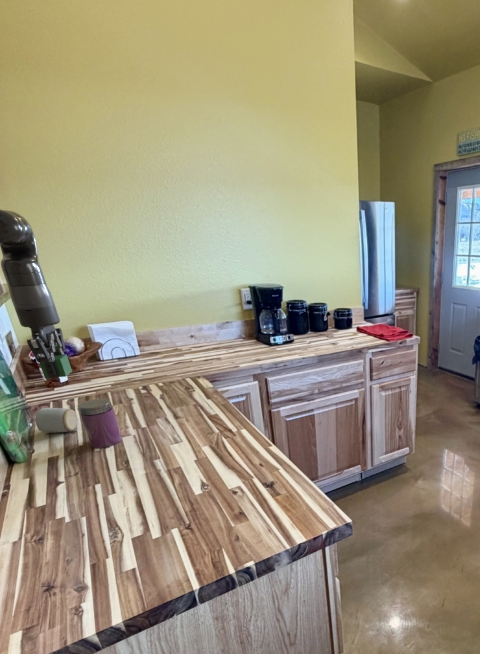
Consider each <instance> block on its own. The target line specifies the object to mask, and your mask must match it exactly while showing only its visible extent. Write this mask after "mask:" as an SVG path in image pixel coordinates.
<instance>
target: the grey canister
mask: <svg viewBox="0 0 480 654" xmlns="http://www.w3.org/2000/svg"><path fill="white" fill-rule="evenodd" d="M79 423H80V418H79V417H78V415H77V413H76V411H74V410H73V409H71V408H67V407H66V408H65V407H64V408H63V407H62V408H61V407H41V408H39V410H38V411H37V412H36V415H35V425H36V428H37V429H38V431H39V432H40V433H42V434H51V433H53V434H55V433H69V432H72V431H74V430H75V429H76V428H77V426H78V424H79Z"/></svg>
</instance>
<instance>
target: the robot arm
mask: <svg viewBox="0 0 480 654" xmlns="http://www.w3.org/2000/svg"><path fill="white" fill-rule="evenodd" d="M0 250H1V251H0V252H1V254H2V258H1V260H0V268H1V272H2V275H3V277H4V279H5V282H6V285H7V287H8V288H7V289H8V292H9V297H10V299H11V302H12V305H13V308H14V311H15V314H16V316H17V318H18V319H17V320H18V322H19V324H20V326H21V327H23V328H29V329H30V331H31V332H30V333H31V338H30V339H26V343H27V345H28V348H29V349H30V351H31V353H32V355H33V356H34V358H35V360H36V362H37V363H39V362H42V363H44V365H45V368H46V371H47V374H48V376H49V377H50V378H49V379H53V378H52V377H55V378H59V377H58V376H59V375H60V374H59V371H58V368H57V365H56V362H55V359H54V355H65V353H66V343H65V341H64V340H65V339H64V335H63V330H62V329H61V327H55V325H57V324H59V323H60V321H61V320H60V317H59V314H58V311H57V308H56V307H57V306H56V305H55V301H54V298H53V295H52V293H51V291H50V289H49V286H48V284H47V280H46V278H45V275H44V272H43V269H42V267H41V265H40V261H39V253H38V247H37V242H36V237H35V233H34V230H33V228H32V226H31V224H30V223H29V221H28V220H27V219H26V218H25V217H24V216H23V215H21V214H20V213H17V212H15V211H14V210H13V211H12V210H7V209H0ZM39 364H40V363H39Z"/></svg>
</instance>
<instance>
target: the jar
mask: <svg viewBox="0 0 480 654" xmlns="http://www.w3.org/2000/svg"><path fill="white" fill-rule="evenodd" d="M79 417H80V419H81V423H82V425H83V428H84V431H85V434H86V438H87V440H88V443H89V446H90V448H92V449H93V448H94V449H103V448H104V449H105V448H110V447H112V446H114V445H117V444H118V443H120V442H121V441H122V440H123V436H122V433H121V429H120V427H119V423H118V419H117V416H116V412H115V409H114V406H112V408H111V409H110V410H108V411H106V412H103V413H100V414H94V415H83V414H81V413H80V412H79Z"/></svg>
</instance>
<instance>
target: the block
mask: <svg viewBox="0 0 480 654" xmlns="http://www.w3.org/2000/svg"><path fill="white" fill-rule="evenodd" d="M54 359H55V362H56V365H57V368H58V371H59V374H60V375H59V376H58V377H57V378H64V377H67V376H69V375H70V374H71V373H72V372H73V369H72V366H71V363H70V360H69V357H68V355H67V354H64V355H54ZM39 366H40V369H41V371H42V374H43V377H44V379H55V378H56V377H52V378H50V377H49V376H48V374H47V371H46V368H45V365H44V363H42V362H39Z"/></svg>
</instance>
